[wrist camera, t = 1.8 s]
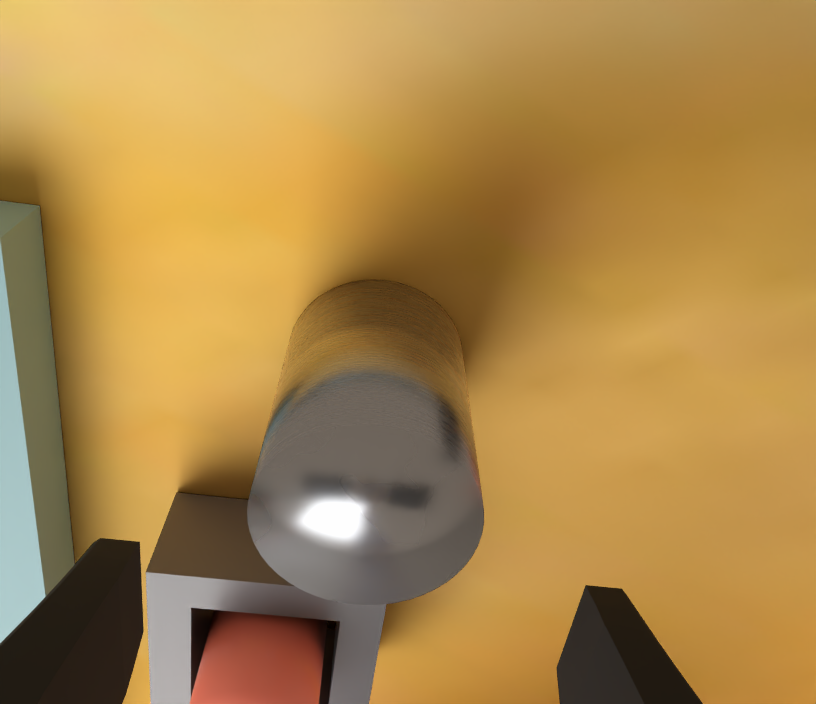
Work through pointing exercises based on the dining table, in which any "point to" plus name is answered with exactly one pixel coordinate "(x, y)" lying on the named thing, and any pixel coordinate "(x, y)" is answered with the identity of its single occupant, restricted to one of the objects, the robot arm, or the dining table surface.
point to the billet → (369, 450)
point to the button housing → (239, 602)
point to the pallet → (28, 426)
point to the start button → (261, 660)
